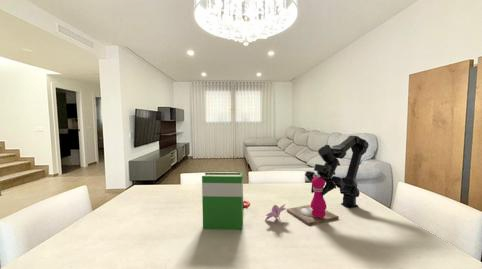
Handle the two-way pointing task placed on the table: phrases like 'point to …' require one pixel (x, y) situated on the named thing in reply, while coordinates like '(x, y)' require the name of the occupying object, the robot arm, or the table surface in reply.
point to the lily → (275, 212)
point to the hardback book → (222, 201)
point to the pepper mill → (318, 197)
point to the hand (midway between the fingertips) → (316, 193)
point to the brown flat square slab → (310, 215)
